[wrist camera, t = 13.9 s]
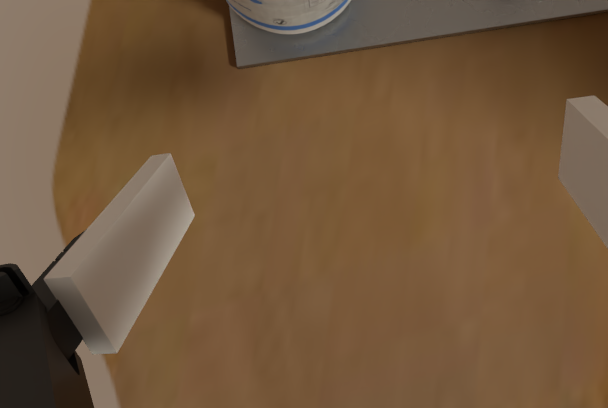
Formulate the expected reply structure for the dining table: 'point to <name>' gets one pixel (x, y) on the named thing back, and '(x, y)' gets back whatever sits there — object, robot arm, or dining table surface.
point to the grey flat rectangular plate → (397, 26)
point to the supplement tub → (288, 13)
